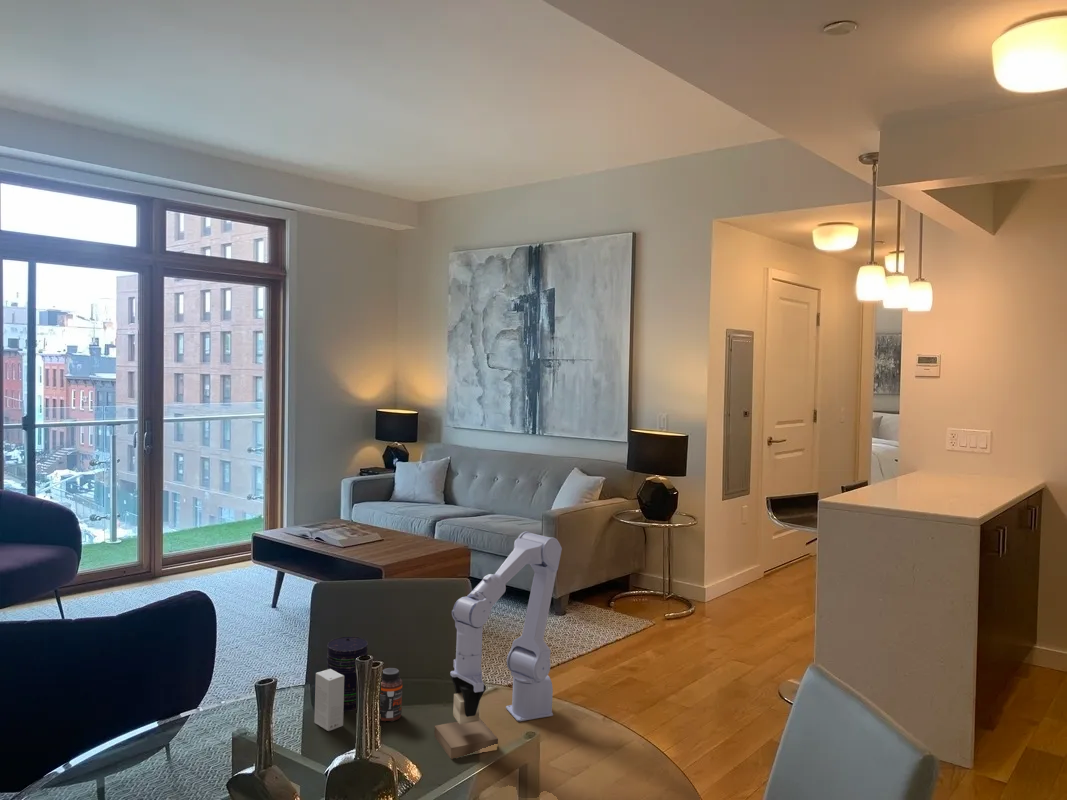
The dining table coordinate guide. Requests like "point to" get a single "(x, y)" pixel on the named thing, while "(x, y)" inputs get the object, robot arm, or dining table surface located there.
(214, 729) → the dining table surface
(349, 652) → the storage jar
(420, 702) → the dining table surface
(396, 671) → the supplement bottle
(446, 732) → the walnut block
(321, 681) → the skincare box
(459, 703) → the maple block
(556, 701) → the dining table surface
